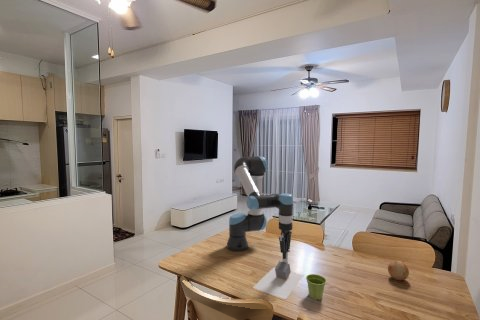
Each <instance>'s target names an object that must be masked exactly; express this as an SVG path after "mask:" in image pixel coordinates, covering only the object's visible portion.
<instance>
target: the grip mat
mask: <svg viewBox="0 0 480 320" xmlns="http://www.w3.org/2000/svg"><path fill="white" fill-rule="evenodd" d="M275 268H276V266H273V268H271V269H270V270H269V271H268V272H267V273H266V274H265V275H264V276H263V277H262V278H261V279H260V280H259V281H257V283H256V284H255V285H254V286H253V287H252V288H253V289H255V290H258V291H261V292H263V293H266V294H268V295H271V296H274V297H277V298H279V299H281V300H287V298H288V297H289V296H290V294H291V293H292V292H293V291H294V289H295V288H296V286H297V285H298V284H299V282H300V281H301V280H302V278H303V277H304V274H300V273H297V272H295V271H291V273H290V275H289V277H288V279H287V280H284V279H281V278H277V277H276V272H275Z"/></svg>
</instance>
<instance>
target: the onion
mask: <svg viewBox="0 0 480 320" xmlns="http://www.w3.org/2000/svg"><path fill="white" fill-rule="evenodd" d="M387 272H388V274H389V275H390V277H391V278H393V279H394V280H396V281H404V280H406V279H407V278H408V277H409V276H410V271H409V267H408V266H407V265H406V263H405V262H403V261H402V260H396V259H395V260H392V261H390V262H389V263H388V265H387Z"/></svg>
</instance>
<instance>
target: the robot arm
mask: <svg viewBox="0 0 480 320" xmlns="http://www.w3.org/2000/svg"><path fill="white" fill-rule="evenodd" d="M235 161H236V162H235V163H234V165H233V166H234V167H233V171H234V174H235V176H236V177H237V178H238V179H239V180H240V183H241V185H242V187H243V189H244V192H245V194H246V196H247V197H246V206H247V208H248V210H247V214H245V213H244V212H241V213H240V212H238V213H237V212H236V213H234V214H232V215H230V216H229V219H228V220H229V221H228V227H229V228H228V229H229V233H228V234H229V237H228V240H227V242H226V248H227V250H228V251H229V250H230V251H231V250H232V251H233V252H241V251H242V252H243V251H245V250H248V248H249V243H248V240H247V236H246V235H247V234H246V233H247V232H248V233H249V232H251V233H252V232H259V231H263V230H265V229H266V226H267V222H268V221H267V216H266V214H265V213H264V210H262V209H271V208H272V209H273V208H274V209H275V208H277V209H278V229H279V230H280V236H279V237H278V241H279V251H280V253H282V260H281V262H285V263H288V264H289V253H290V251H291V250H290V249H291V239H292V230H293V219H294V216H293V213H294V200H293V199H294V198H293V194H291V193H286V192H285V193H275V192H274V193H270V194H263V177H264V176H265V174H266V173H267V171H268V168H269V167H268V163H267V160H266V158H265V157H264V156H259V155H256V156H255V155H254V156H241V157H240V158H238V159H237V160H235ZM232 251H231V252H232Z"/></svg>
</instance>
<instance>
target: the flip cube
mask: <svg viewBox="0 0 480 320" xmlns="http://www.w3.org/2000/svg"><path fill="white" fill-rule="evenodd" d="M275 267H276V268H275V272H276V277H277V278H281V279H284V280H287V279H288V277H289V275H290V273H291V272H292V271H291V265H290V263H289V262H288V263H285V262H282V260H279V261H278V262H277V264H276V266H275Z"/></svg>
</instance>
